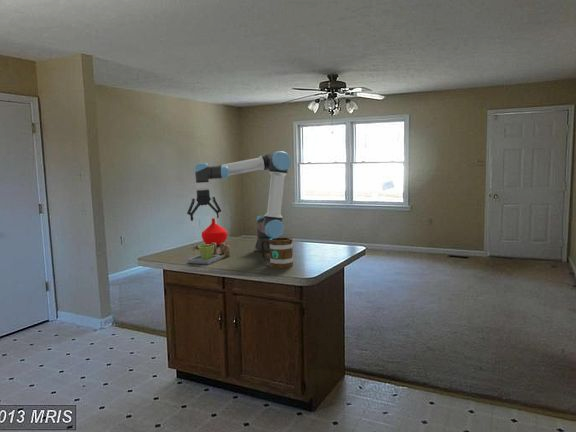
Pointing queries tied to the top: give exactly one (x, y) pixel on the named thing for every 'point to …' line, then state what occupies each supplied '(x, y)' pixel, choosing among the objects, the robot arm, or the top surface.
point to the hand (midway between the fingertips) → (205, 225)
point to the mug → (279, 252)
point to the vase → (214, 234)
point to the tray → (199, 261)
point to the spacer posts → (221, 249)
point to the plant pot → (206, 251)
